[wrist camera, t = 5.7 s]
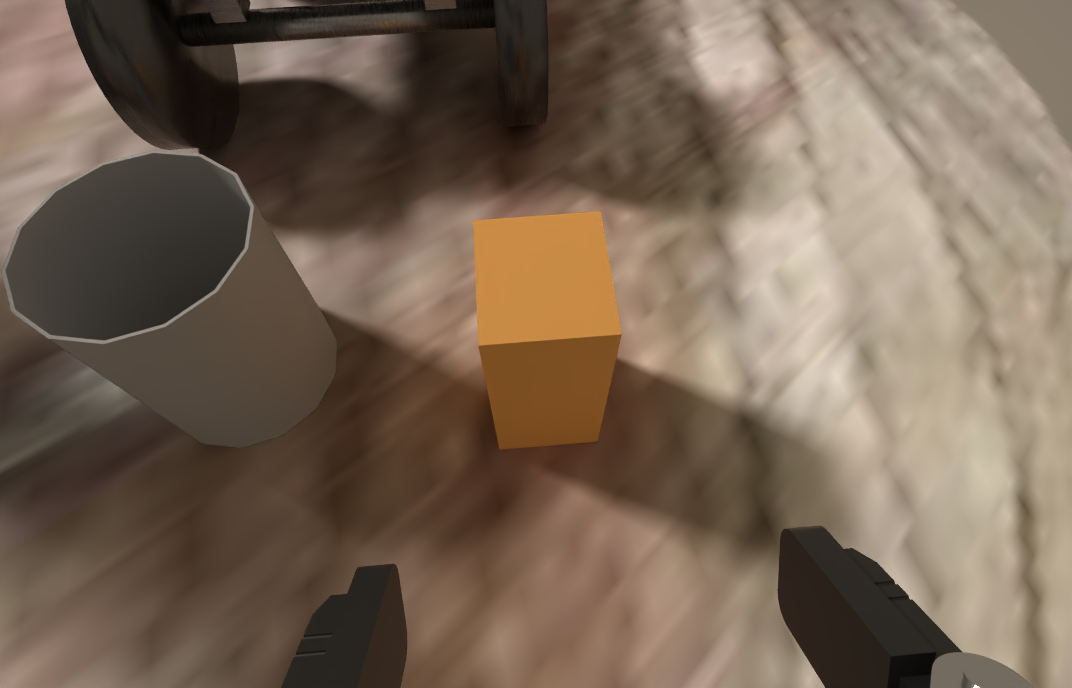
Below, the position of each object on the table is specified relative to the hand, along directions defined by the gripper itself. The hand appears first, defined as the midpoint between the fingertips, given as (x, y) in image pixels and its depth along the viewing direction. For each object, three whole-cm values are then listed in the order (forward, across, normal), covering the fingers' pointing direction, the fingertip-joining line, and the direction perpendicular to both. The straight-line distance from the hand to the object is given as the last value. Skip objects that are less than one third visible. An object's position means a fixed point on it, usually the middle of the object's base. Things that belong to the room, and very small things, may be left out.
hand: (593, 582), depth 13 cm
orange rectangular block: (+17, 0, -2) cm, 17 cm away
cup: (+19, -14, 0) cm, 24 cm away
